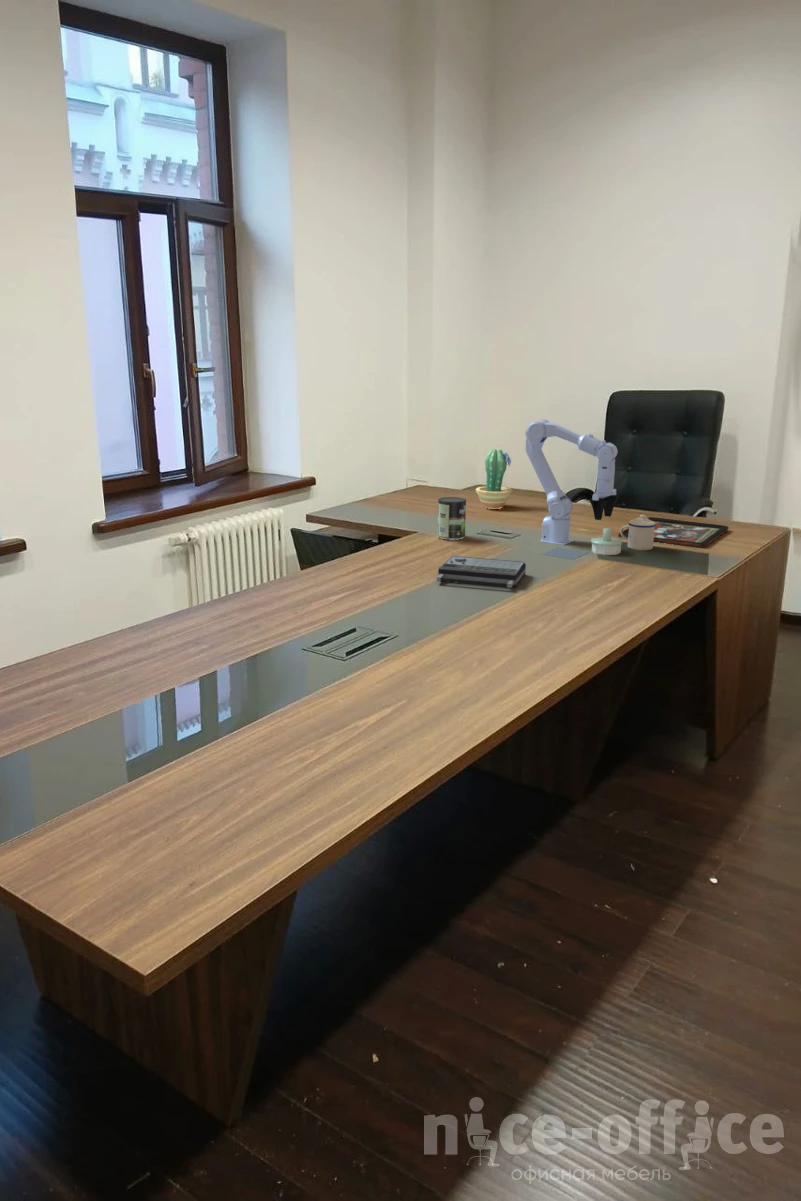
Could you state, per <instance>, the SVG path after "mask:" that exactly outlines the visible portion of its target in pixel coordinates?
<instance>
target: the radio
mask: <svg viewBox="0 0 801 1201" xmlns="http://www.w3.org/2000/svg"><path fill="white" fill-rule="evenodd" d="M525 562H526V561H521V560H509V559H508V560H507V559H497V558H495V559H494V558H487V557H485V558H483V557H473V556H472V557H471V556H462V555H452V556H450V557H449V558H448V559H447V560H445V562H444V563H442V564H441V565H439V566H438V571H437V572H438V573H437V574H438V576H436V581H437V582H447V583H454V584H458V583H461V584H462V583H463V584H472V585H483V586H484V585H485V586H493V587H494V586H495V587H504V588H508V589H509V588H510V589H511V588H514V589H515V588H517V587H518V586H519V584H520V583H521V581H522V580H523V579H522V578H524V577H525V576H526V570H527V568H526V567H527V563H525Z"/></svg>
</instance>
